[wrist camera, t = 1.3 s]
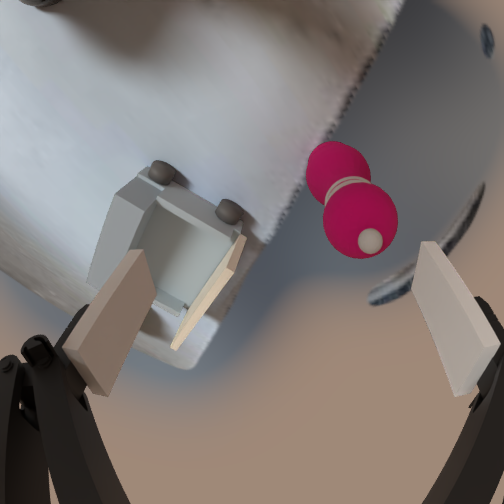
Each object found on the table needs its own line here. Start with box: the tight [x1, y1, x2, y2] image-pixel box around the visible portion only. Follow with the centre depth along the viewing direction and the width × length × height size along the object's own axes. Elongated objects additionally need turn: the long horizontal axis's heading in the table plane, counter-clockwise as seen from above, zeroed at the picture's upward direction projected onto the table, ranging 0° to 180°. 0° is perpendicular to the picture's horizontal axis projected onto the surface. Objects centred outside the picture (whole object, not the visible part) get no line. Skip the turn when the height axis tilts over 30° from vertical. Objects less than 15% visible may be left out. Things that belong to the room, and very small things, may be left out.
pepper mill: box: [306, 141, 398, 259], centre depth 29 cm, size 7×7×20 cm
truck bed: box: [86, 160, 243, 317], centre depth 41 cm, size 15×20×9 cm
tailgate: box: [170, 234, 247, 350], centre depth 40 cm, size 1×16×8 cm, turn 148°
